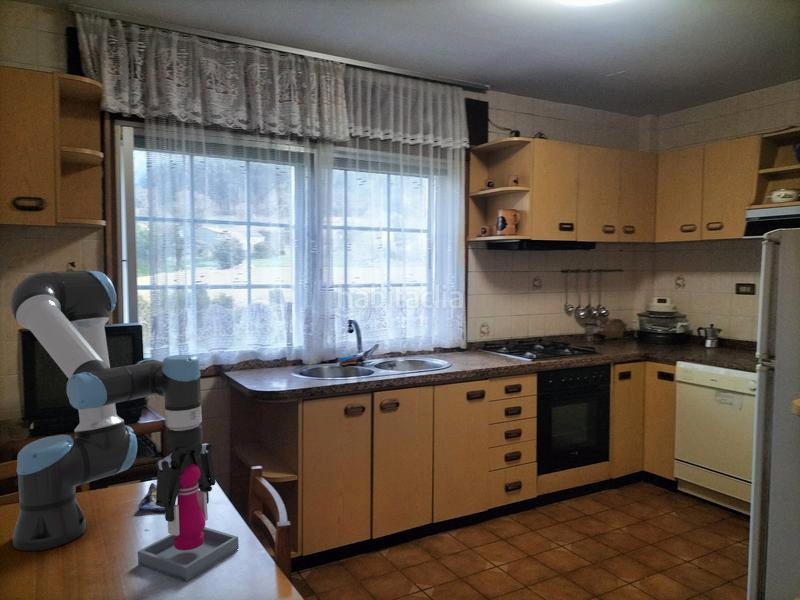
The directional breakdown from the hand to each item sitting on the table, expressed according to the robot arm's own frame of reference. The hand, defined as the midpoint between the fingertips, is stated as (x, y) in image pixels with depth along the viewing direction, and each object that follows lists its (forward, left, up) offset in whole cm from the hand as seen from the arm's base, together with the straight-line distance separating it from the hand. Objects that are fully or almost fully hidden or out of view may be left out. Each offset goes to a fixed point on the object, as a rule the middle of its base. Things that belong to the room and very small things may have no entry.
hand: (188, 526), depth 129 cm
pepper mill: (0, 0, -4) cm, 4 cm away
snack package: (-29, +16, -8) cm, 34 cm away
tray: (0, 0, -7) cm, 7 cm away
